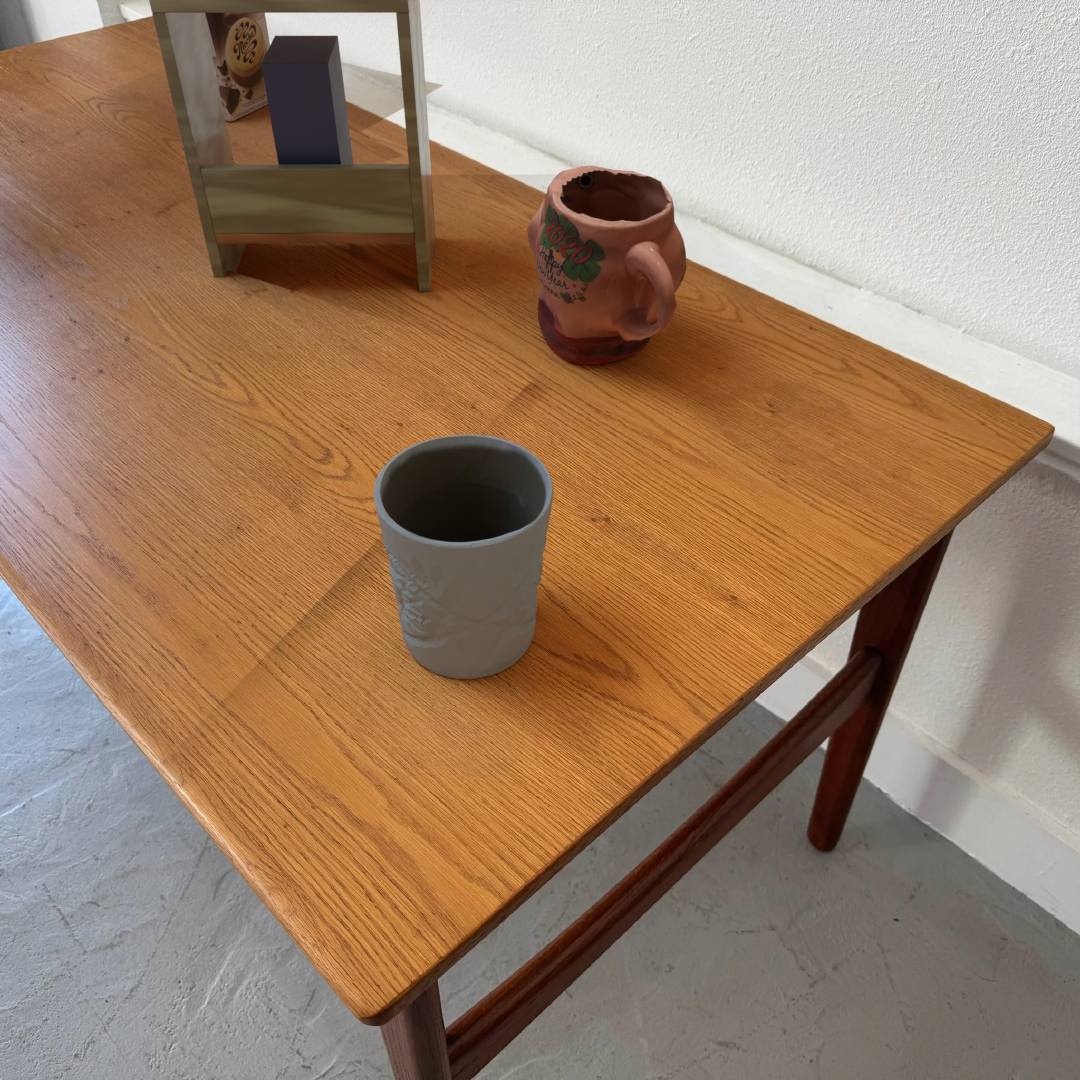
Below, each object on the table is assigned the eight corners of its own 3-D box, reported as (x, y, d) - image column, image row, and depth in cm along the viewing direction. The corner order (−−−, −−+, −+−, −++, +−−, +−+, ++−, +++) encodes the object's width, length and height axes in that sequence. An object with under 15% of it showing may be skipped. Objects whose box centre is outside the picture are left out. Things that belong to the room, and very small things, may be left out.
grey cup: (361, 645, 65) (337, 503, 57) (452, 551, 72) (442, 411, 64) (494, 713, 62) (488, 572, 53) (578, 608, 68) (585, 467, 60)
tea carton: (288, 222, 95) (261, 63, 85) (299, 189, 100) (274, 35, 90) (348, 222, 95) (327, 63, 85) (356, 188, 100) (337, 35, 90)
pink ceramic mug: (730, 382, 87) (755, 228, 77) (608, 426, 82) (619, 268, 73) (602, 279, 99) (609, 135, 90) (490, 311, 95) (486, 164, 85)
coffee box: (232, 123, 127) (204, -22, 115) (193, 113, 129) (162, -30, 118) (281, 99, 132) (258, -41, 121) (243, 89, 135) (217, -49, 124)
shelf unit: (239, 238, 105) (181, -41, 87) (435, 237, 105) (416, -41, 88) (217, 293, 97) (148, -1, 80) (429, 291, 97) (407, -1, 80)
